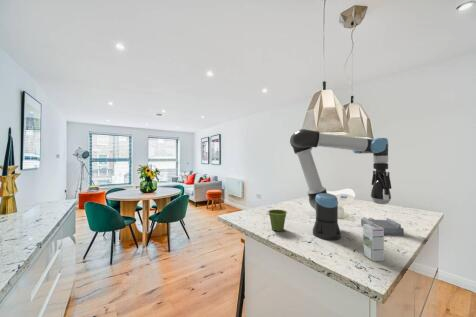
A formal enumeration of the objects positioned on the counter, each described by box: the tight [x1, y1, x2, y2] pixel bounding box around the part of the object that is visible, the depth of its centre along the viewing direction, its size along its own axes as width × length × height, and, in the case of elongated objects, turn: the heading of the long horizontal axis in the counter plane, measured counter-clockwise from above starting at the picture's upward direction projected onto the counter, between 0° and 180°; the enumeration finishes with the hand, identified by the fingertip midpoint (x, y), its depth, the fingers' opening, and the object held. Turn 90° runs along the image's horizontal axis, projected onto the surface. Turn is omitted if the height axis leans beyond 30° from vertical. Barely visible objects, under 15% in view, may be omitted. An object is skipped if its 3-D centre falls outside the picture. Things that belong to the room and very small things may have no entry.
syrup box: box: [362, 224, 385, 262], centre depth 88 cm, size 6×6×14 cm
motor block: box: [360, 216, 405, 237], centre depth 125 cm, size 16×20×6 cm
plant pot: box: [267, 209, 288, 232], centre depth 124 cm, size 12×12×11 cm
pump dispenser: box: [370, 179, 392, 205], centre depth 123 cm, size 10×10×15 cm
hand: (380, 198), depth 123 cm, fingers closed on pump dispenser, 10 cm apart
